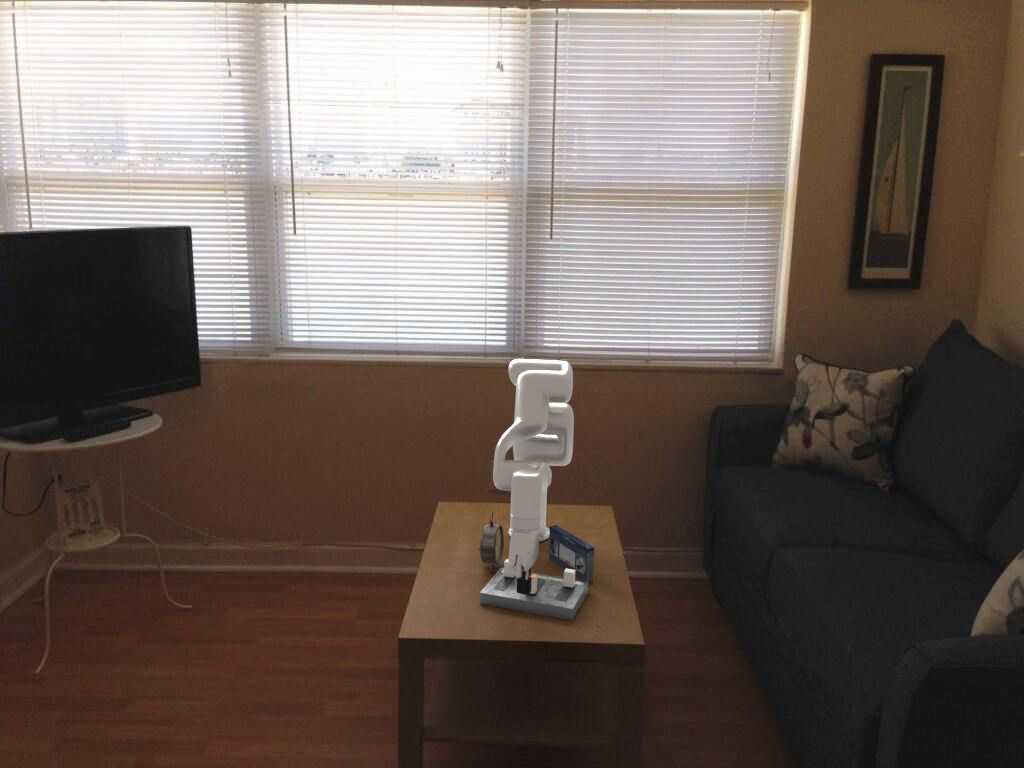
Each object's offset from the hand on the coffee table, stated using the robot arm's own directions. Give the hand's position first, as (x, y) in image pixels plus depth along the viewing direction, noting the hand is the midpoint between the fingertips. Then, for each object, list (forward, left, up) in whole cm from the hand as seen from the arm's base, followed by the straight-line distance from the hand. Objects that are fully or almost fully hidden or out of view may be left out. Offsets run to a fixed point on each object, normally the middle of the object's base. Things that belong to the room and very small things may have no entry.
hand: (523, 592), depth 222 cm
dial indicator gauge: (-24, -17, -6) cm, 30 cm away
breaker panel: (-10, 0, -6) cm, 12 cm away
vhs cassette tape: (-30, +4, -6) cm, 31 cm away
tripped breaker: (-6, 0, -3) cm, 7 cm away
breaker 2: (-13, +8, -3) cm, 16 cm away
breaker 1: (-13, -8, -3) cm, 16 cm away
